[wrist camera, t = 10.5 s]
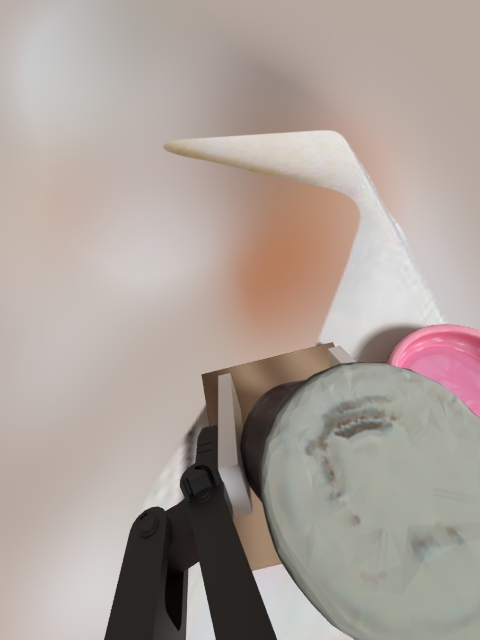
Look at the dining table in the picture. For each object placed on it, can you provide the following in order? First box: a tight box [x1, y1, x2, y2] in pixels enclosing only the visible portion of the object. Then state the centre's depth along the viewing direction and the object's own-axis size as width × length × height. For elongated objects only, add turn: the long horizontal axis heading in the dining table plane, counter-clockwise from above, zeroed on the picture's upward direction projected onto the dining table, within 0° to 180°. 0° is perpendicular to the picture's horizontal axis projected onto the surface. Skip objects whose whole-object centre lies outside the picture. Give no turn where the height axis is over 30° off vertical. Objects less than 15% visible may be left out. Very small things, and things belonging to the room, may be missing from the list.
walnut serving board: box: [202, 342, 335, 571], centre depth 24 cm, size 14×16×2 cm
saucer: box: [387, 324, 480, 418], centre depth 24 cm, size 12×12×3 cm
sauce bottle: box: [241, 362, 480, 640], centre depth 13 cm, size 6×6×20 cm
